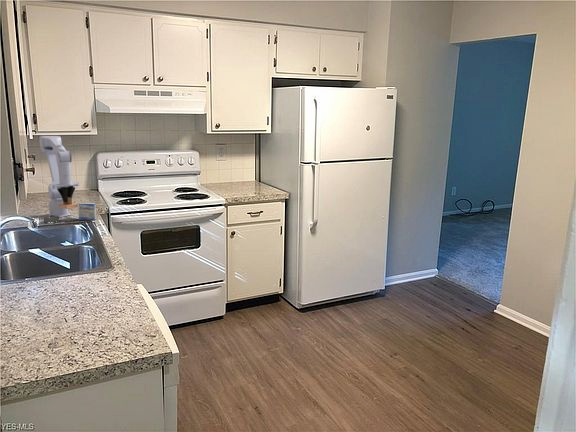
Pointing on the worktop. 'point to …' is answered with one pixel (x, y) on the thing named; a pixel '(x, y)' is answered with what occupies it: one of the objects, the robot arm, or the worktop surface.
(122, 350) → the worktop surface
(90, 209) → the medicine box
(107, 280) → the worktop surface
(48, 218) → the storage box
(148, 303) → the worktop surface
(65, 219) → the rubber mat
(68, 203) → the lid
